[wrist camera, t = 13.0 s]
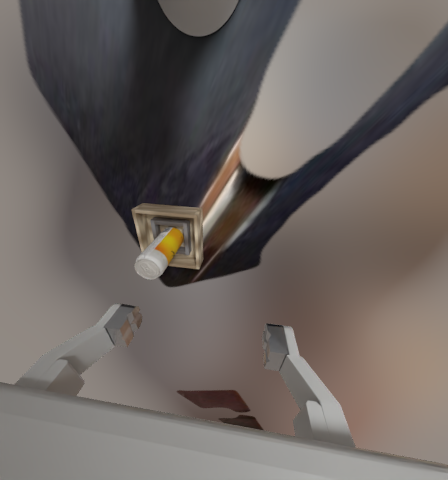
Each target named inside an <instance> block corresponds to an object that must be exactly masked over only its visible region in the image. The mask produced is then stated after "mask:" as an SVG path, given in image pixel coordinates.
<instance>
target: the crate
mask: <svg viewBox="0 0 448 480" xmlns="http://www.w3.org/2000/svg"><path fill="white" fill-rule="evenodd" d="M131 210H132V214H133V218H134V222H135V227H136V231H137V235H138V239H139V243H140V247H141V252H143V251H144V250H145V249H146V248H147V247H148V246H149V245H150V244H151V243H152V242H153V241H154V240H155V239H156V238H157V237H158V236H159V234H160V233H161V232H162V231H163V230H164V229H165V228H167V227H174V228H177V229H179V230H180V231H181V232H182V234H183V236H184V241H183V243H182V245H181V246H180V248H179V249H178V251H177V252H176V254H175V255H174V257H173V258H172V260H171V261H170V263H169V265H168V266H175V267H183V268H192V269H199V268H200V266H201V263H202V261H203V225H202V208H194V207H182V206H170V205H158V204H147V203H142V204H140V205H138V206H137V207H135V208H133V209H131Z"/></svg>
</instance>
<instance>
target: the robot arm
mask: <svg viewBox="0 0 448 480" xmlns="http://www.w3.org/2000/svg"><path fill="white" fill-rule="evenodd" d="M238 1H239V0H158V2H159V4H160V6H161V8H162V10H163V12H164V13H165V15H166V16H167V18H168V19H169V20H170V22H171V23H172V24H173V25H174V26H175V27H176V28H178V29H179V30H180V31H182V32H184V33H186V34H188V35H191V36H206V35H209V34H211V33H213V32H215V31H217V30H218V29H219V28H220V27H221V26H223V25H224V23H225V22H226V21H227V20H228V19H229V17H230V16H231V14H232V13H233V11H234V9H235V7H236V5H237V3H238ZM139 311H140V309H139V307H138V306H132V305H124V304H118V303H115V304H113V305H112V306H111V307H110V308H109V310H108V311H107V312H106V313H105V314H104V316H103V317H102V318H101V319H100V321H99V322H98V323H97V324H96V325H95V326H92V327H90V328H89V329H87V330H85V331H83V332H81V333H80V334H78V335H76V336H75V337H73V338H71V339H69V340H68V341H66V342H64V343H63V344H61V345H59V346H58V347H56V348H54V349H52V350H51V351H49V352H47V353H46V354H44V355H43V356H42V357H41V358H40V359H39V360H38V361H37V362H36V363H35V364H34V365H33V366H32V367H31V368H30V369H29V370H28V371H27V372H26V373H25V374H24V375H23V376H22V377H21V378H20V379H19V380H18V381H17V382H16V383H15V384H14V385H12V384H7V383H2V382H0V480H448V465H446V464H442V463H437V462H432V461H426V460H421V459H415V458H410V457H404V456H399V455H394V454H388V453H383V452H377V451H372V450H366V449H361V448H356V447H355V444H354V442H353V439H352V436H351V433H350V431H349V428H348V425H347V422H346V419H345V416H344V414H343V411H342V408H341V405H340V404H339V403H338V401H337V400H336V399H335V398H334V397H333V395H332V394H331V393H330V391H329V390H328V389H327V388H326V386H325V385H324V384H323V382H322V381H321V380H320V379H319V377H318V376H317V375H316V374H315V372H314V371H313V370H312V369H311V367H310V366H309V365H308V364H307V362H306V361H305V360H304V358H303V357H300V356H299V352H298V348H297V344H296V340H295V336H294V332H293V329H292V327H290V326H282V325H274V324H266V325H265V331H263V337H262V345H263V349H264V350H265V352H264V355H263V358H264V368H265V369H270V370H275V371H279V373H280V374H281V376H282V378H283V380H284V381H285V383H286V385H287V387H288V388H289V390H290V392H291V394H292V396H293V398H294V399H295V401H296V403H297V405H298V406H299V408H300V412H299V413H298V414H297V416H296V417H295V418H294V420H293V424H294V430H295V436H290V435H285V434H279V433H273V432H268V431H263V430H257V429H252V428H247V427H241V426H236V425H230V424H225V423H219V422H213V421H208V420H203V419H197V418H192V417H187V416H181V415H175V414H170V413H165V412H159V411H154V410H149V409H143V408H138V407H132V406H126V405H121V404H116V403H110V402H104V401H100V400H94V399H89V398H83V397H78V396H77V394H78V393H79V391H80V390H81V388H82V387H83V385H84V380H83V379H82V377H81V376H80V374H82V373H83V372H84V371H85V370H86V369H88V368H89V367H90V366H91V365H92V364H94V363H95V362H96V361H97V360H99V359H100V358H101V357H102V356H103V355H105V354H106V353H107V352H108V351H109V350H111V349H112V348H113V347H114V346H122V347H128V346H129V344H130V342H131V341H132V339H133V337H134V332H135V331H137V330H138V329H139V327H140V325H141V322H142V315H141V314H140V313H139Z"/></svg>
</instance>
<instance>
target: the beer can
mask: <svg viewBox="0 0 448 480" xmlns="http://www.w3.org/2000/svg"><path fill="white" fill-rule="evenodd" d="M183 241H184V236H183V234H182V232H181V231H180V230H179V229H177V228H174V227H167V228H165V229H164V230H163V231H162V232H161V233H160V234H159V236H158V237H157V238H156V239H155V240H154V241H153V242H152V243H151V244H150V245H149V246H148V247H147V248H146V249H145V250H144V251H143V252H142V253H141V254H140V255H139V256H138V257H137V259H136V262H135V265H134V268H135V270H136V272H137V273H138V275H140V276H141V277H143V278H145V279H149V280H153V279H156V278H157V277H159V276H161V275H162V274H163V272H164V271H165V269H166V268H167V266H168V265H169V263H170V261H171V260H172V258H173V257H174V255H175V254H176V252H177V251H178V249H179V248H180V246H181V245H182V243H183Z"/></svg>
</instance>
